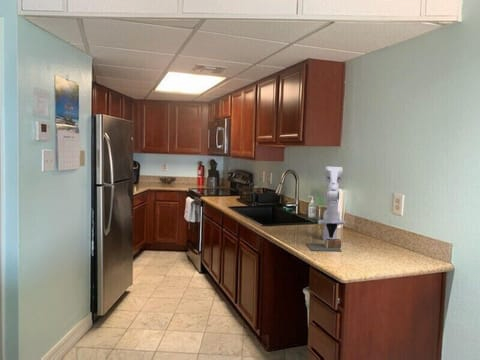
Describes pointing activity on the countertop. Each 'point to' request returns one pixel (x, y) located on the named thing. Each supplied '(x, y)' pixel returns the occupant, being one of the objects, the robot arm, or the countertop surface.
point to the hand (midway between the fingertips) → (330, 237)
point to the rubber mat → (321, 247)
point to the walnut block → (332, 243)
